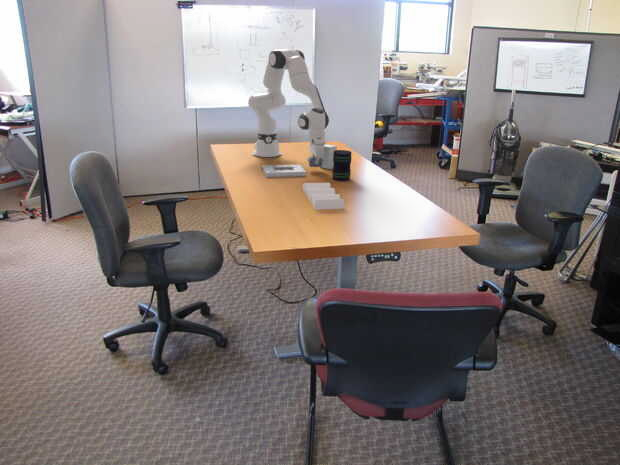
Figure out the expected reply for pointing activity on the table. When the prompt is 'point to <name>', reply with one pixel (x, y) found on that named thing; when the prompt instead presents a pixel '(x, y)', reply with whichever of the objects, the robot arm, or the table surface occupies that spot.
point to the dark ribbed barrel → (341, 165)
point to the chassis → (283, 170)
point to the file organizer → (323, 196)
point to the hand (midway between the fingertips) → (315, 162)
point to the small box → (328, 156)
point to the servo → (312, 162)
